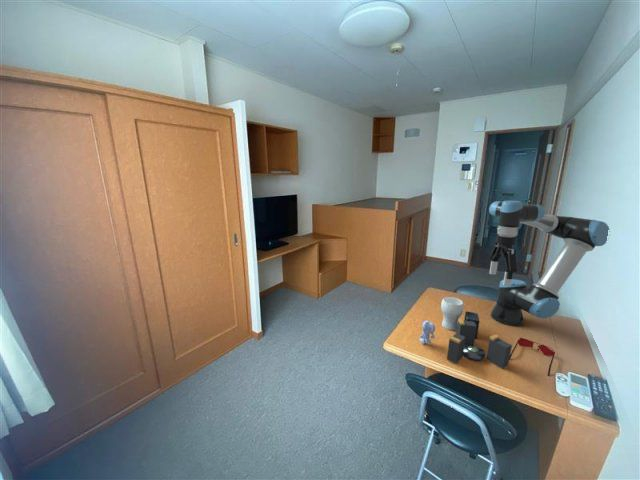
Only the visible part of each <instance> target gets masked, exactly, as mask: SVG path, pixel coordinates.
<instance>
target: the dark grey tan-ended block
mask: <svg viewBox="0 0 640 480" xmlns="http://www.w3.org/2000/svg"><path fill="white" fill-rule="evenodd" d="M512 347H513V345H512V344H510V343H509V342H507V341H504V340H503V339H501V338H500V336H499V335H497V334H496V333H495V334H493V335H490V336H489V339H488V347H487V351H486V355H485V358H486V360H488V361H489V362H491V363H493V365H495V366H497V367H499V368H501V369H505V368H506V367H508V366H509V362H510V360H511V359H510V355H511V352H512ZM509 359H510V360H509Z"/></svg>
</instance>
